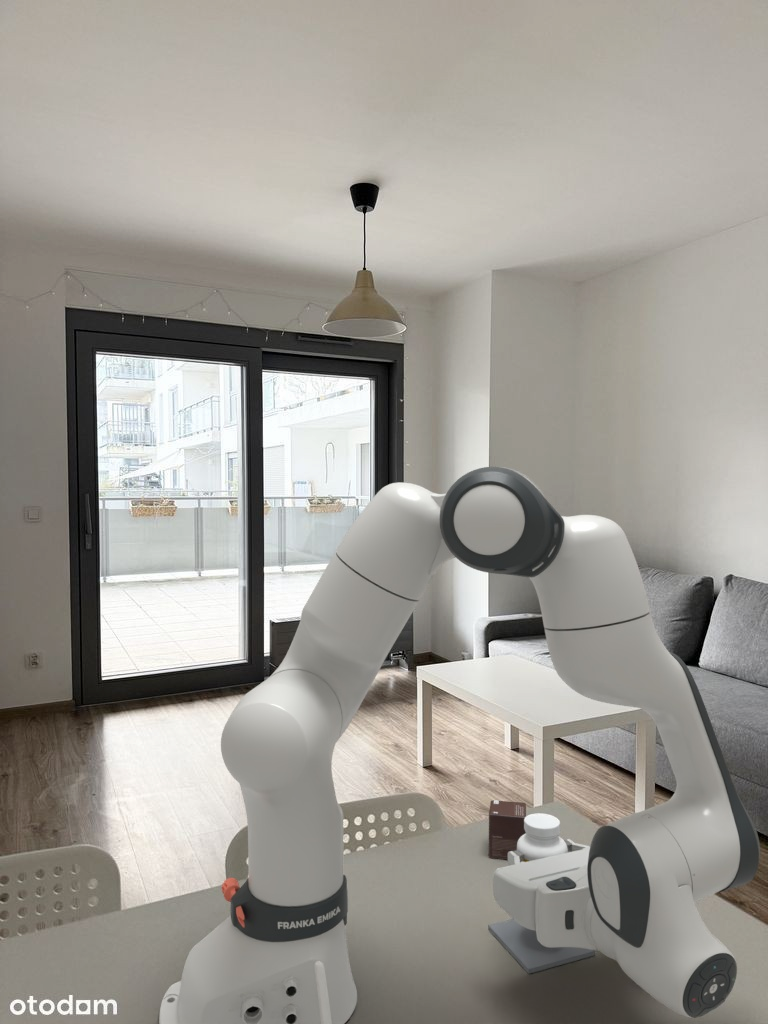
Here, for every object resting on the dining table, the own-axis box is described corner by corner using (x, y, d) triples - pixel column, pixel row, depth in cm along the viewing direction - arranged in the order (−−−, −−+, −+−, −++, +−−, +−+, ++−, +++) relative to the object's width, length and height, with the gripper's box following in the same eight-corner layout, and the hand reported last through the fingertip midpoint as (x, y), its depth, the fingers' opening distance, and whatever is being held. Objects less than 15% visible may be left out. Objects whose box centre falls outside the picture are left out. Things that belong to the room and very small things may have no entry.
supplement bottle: (509, 905, 99) (509, 811, 99) (555, 900, 100) (554, 807, 100) (528, 934, 93) (527, 833, 92) (577, 928, 94) (576, 829, 94)
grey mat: (528, 973, 90) (528, 969, 90) (488, 929, 99) (488, 924, 99) (595, 955, 94) (595, 950, 94) (549, 913, 103) (550, 909, 103)
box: (525, 862, 118) (525, 817, 118) (488, 858, 119) (488, 814, 119) (526, 845, 124) (526, 802, 124) (490, 841, 125) (490, 799, 125)
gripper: (675, 859, 88) (601, 814, 101) (531, 894, 81) (471, 840, 93) (675, 911, 88) (601, 859, 101) (531, 951, 81) (471, 889, 93)
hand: (538, 850), depth 97 cm, fingers closed on supplement bottle, 7 cm apart
